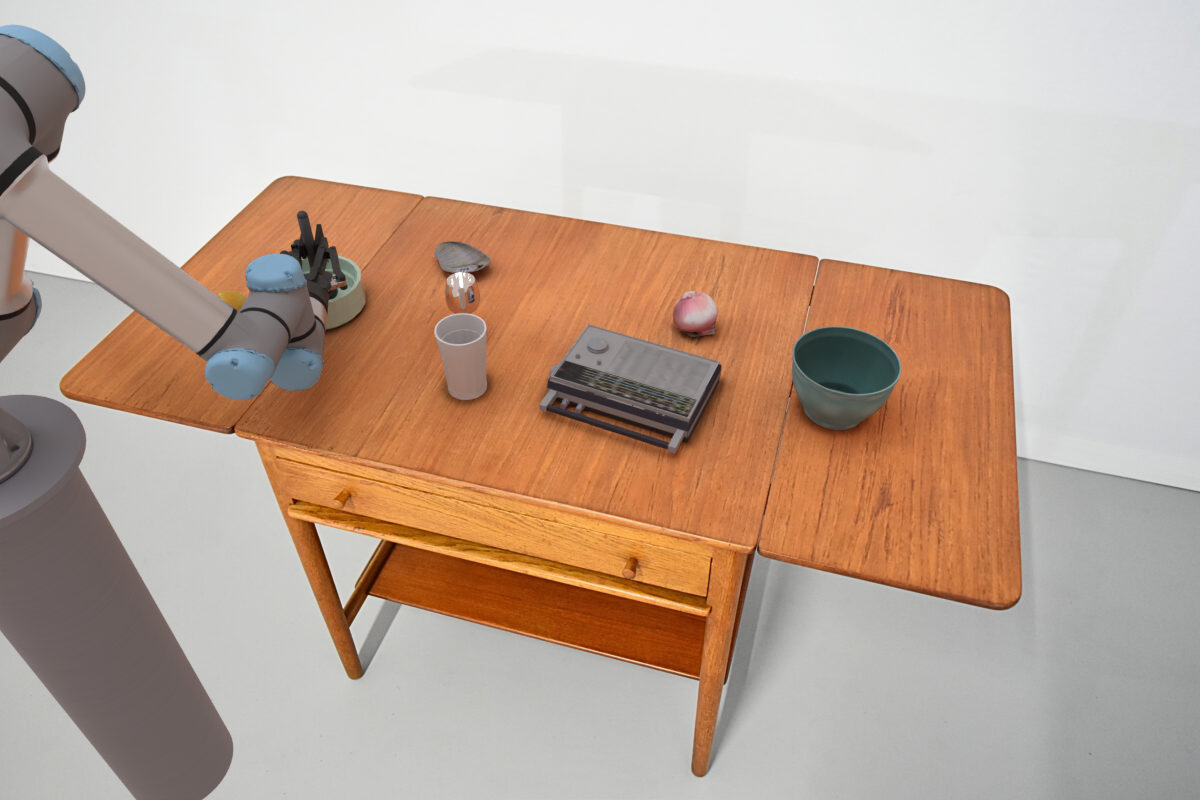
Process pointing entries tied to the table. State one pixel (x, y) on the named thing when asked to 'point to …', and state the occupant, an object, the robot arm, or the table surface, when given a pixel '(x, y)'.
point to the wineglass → (462, 293)
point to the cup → (463, 354)
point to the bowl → (344, 293)
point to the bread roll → (233, 299)
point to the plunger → (311, 245)
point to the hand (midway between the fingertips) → (313, 231)
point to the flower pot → (843, 375)
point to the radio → (632, 386)
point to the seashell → (460, 257)
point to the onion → (695, 314)
